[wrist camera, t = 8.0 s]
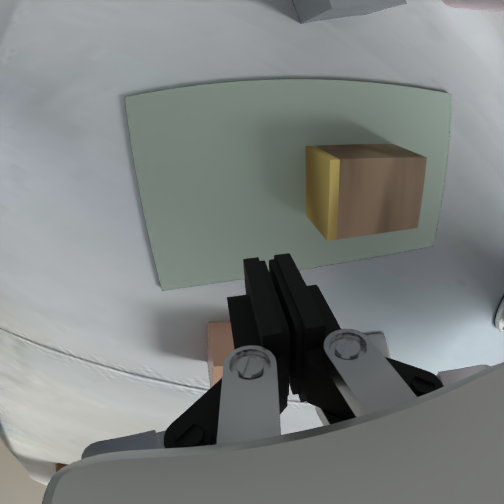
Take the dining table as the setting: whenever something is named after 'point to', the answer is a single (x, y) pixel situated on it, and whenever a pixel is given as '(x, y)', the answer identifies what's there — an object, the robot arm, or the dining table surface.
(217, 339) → the terracotta block
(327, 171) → the walnut block
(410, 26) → the dining table surface
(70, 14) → the dining table surface
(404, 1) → the slate block
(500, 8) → the smoothie
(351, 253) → the rubber mat
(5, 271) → the dining table surface
